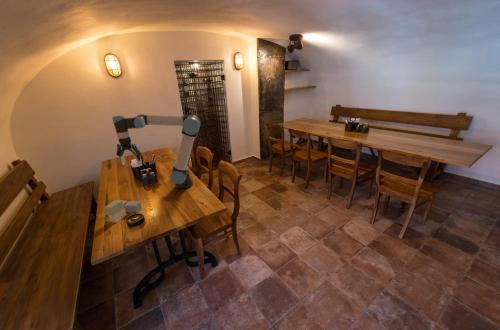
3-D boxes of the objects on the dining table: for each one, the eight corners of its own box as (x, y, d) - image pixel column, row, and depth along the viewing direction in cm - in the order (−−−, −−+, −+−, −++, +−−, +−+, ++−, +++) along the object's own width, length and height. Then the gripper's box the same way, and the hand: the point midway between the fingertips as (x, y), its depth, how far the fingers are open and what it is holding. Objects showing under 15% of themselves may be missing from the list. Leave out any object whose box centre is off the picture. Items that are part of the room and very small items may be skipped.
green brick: (124, 207, 143) (121, 200, 141) (113, 215, 135) (110, 207, 132) (118, 207, 144) (115, 199, 142) (107, 214, 136) (104, 207, 134)
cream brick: (126, 214, 145) (124, 207, 143) (116, 222, 137) (113, 215, 135) (120, 214, 146) (118, 206, 144) (110, 222, 138) (107, 214, 136)
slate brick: (142, 208, 152) (140, 201, 149) (137, 212, 147) (135, 205, 145) (131, 208, 153) (129, 201, 151) (126, 212, 149) (124, 205, 146)
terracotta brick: (130, 207, 154) (128, 200, 151) (125, 211, 149) (122, 204, 147) (120, 206, 156) (117, 199, 153) (114, 210, 151) (112, 203, 149)
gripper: (142, 136, 149) (149, 163, 158) (113, 135, 155) (121, 162, 163) (135, 139, 143) (142, 167, 151) (105, 138, 148) (114, 165, 156)
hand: (131, 164), depth 157 cm, fingers open, 13 cm apart
